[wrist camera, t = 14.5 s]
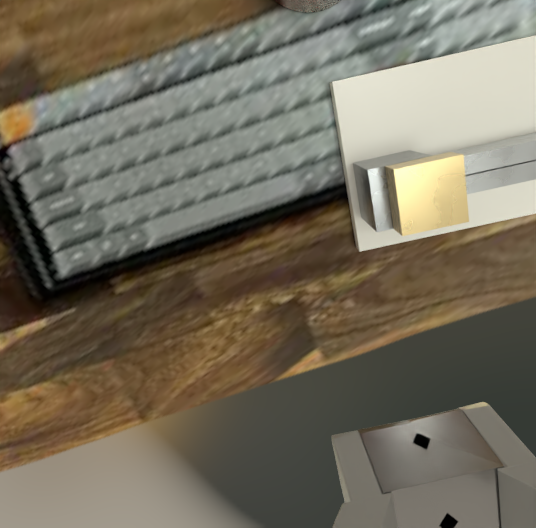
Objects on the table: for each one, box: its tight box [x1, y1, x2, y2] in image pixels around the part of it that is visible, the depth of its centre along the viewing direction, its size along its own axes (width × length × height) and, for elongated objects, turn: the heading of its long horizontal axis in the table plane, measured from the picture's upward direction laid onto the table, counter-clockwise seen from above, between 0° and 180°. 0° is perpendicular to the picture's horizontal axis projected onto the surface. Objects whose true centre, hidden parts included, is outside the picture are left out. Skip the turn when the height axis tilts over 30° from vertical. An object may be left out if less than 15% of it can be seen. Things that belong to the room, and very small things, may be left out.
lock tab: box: [385, 152, 469, 236], centre depth 28 cm, size 4×4×2 cm
